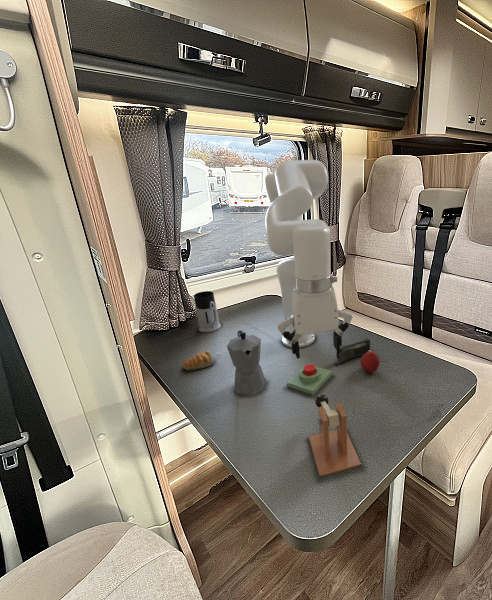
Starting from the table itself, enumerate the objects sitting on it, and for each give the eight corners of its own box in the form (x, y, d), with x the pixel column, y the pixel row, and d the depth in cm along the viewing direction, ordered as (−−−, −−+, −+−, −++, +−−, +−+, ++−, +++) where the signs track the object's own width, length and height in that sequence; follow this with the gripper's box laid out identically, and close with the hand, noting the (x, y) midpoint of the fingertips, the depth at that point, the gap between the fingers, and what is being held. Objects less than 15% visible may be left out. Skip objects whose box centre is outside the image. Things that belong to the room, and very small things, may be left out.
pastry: (186, 374, 101) (184, 364, 100) (180, 366, 106) (178, 356, 105) (215, 364, 107) (213, 354, 105) (209, 356, 112) (207, 346, 110)
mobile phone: (366, 336, 112) (331, 348, 104) (372, 339, 110) (337, 352, 102) (366, 348, 114) (332, 361, 106) (371, 352, 112) (337, 365, 104)
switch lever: (314, 406, 78) (313, 394, 78) (327, 404, 79) (325, 391, 79) (327, 430, 66) (325, 415, 65) (342, 426, 66) (340, 412, 66)
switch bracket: (308, 440, 75) (305, 399, 70) (345, 431, 77) (344, 391, 73) (320, 480, 65) (317, 435, 60) (361, 468, 67) (361, 424, 63)
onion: (368, 365, 104) (369, 343, 101) (382, 372, 100) (383, 349, 97) (357, 372, 100) (356, 350, 97) (371, 380, 96) (371, 357, 93)
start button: (308, 368, 97) (307, 363, 96) (318, 371, 95) (317, 366, 94) (301, 374, 94) (301, 369, 93) (311, 377, 92) (311, 372, 92)
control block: (308, 369, 102) (307, 359, 101) (332, 377, 98) (331, 366, 97) (287, 388, 93) (286, 377, 92) (313, 397, 89) (312, 385, 88)
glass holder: (215, 321, 140) (209, 289, 134) (230, 331, 130) (224, 297, 125) (195, 327, 134) (188, 294, 129) (209, 338, 124) (202, 303, 119)
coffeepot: (271, 394, 91) (264, 339, 84) (237, 404, 87) (228, 347, 81) (260, 367, 104) (253, 318, 98) (230, 375, 100) (221, 324, 94)
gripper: (346, 274, 74) (346, 339, 80) (271, 282, 70) (278, 350, 76) (357, 284, 67) (357, 353, 74) (275, 294, 63) (282, 367, 69)
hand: (317, 352), depth 75 cm, fingers open, 9 cm apart
